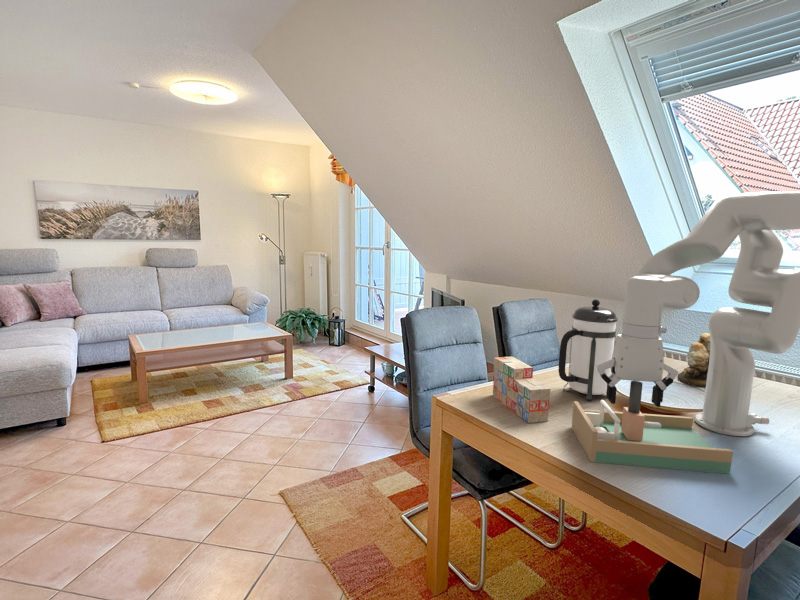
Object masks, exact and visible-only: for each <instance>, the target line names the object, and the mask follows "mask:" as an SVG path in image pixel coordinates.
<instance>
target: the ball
mask: <svg viewBox="0 0 800 600" xmlns="http://www.w3.org/2000/svg"><path fill="white" fill-rule="evenodd" d="M595 429H596V430H597V431H603V432H607V431H606V429H604V428H603V427H595Z"/></svg>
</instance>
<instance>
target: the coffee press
mask: <svg viewBox="0 0 800 600" xmlns="http://www.w3.org/2000/svg"><path fill="white" fill-rule="evenodd" d="M591 305H592V306H581V307H578V308H576V309H575V310H574V312H573V313H572V326H571V330H568V331H566V333H564V335H563V336H562V338H561V341H560V345H559V356H558V375H559V376H558V377H560V379H561V381H564V382H566V384H565V385H563V391H564V392H568V391H569V390H573V391H576V392H578V393H581V394H586V401H587V402H592V400H593V396H599V395H606V392H607V383H606V382H605V381H604V380H603V379H602V378H601V376H600V374H599V372H598V370H597V368H596V366H597V365H599V364H602V363H604V362H607V361H609V360H612V354H613V349H614V345H615V341H616V338H617V329H616V328H617V327H616V326H617V322H618V320H619V318H618V317H617V315H616V312H615V311H613V310H612V309H609V308H606V307H600V305H601V301H599V299H593V300H592V301H591ZM569 341H570V343H571V344H570V348H569V349H570V351H569V352H570V353H569V356H570V357H569V366H568V369H569V371H568V374H567V373H566V365H567V364H566V363H567V362H566V361H567V351H568V350H567V349H568V343H569ZM605 373H606V375H607V376H608V377H609V376H610V375H611V374H612V372H611V370H610V368H608V369H606V370H605ZM567 385H569V388H567V389H566V387H567Z"/></svg>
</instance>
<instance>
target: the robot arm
mask: <svg viewBox="0 0 800 600" xmlns="http://www.w3.org/2000/svg"><path fill="white" fill-rule="evenodd" d="M788 230H800V191H759V192H743V193H731V194H726V195H723V196H720V197H719V198H717V199H716V200H715V201H714V202H713V203H712V204H711V206H709V208H708V209H707V211H706V212H705V213H704V214H703V216H702V217H701V218H700V219H699V221H698V222H697V223H696V225H694V227H693V228H692V229H691V231H690V232H689V233H688V234H687V235H686V236H685V237H684V238H682V239H680V240H677V241H676V242H674V243H672V244H670V245H668V246H666V247H665V248H663V249H662V250H659V251H658V252H656V253H655V254H653V255H652V256H651V257H650V258H649V259H648V260H647V261H645V263H644V264H643V265H642V266H641V268H640V269H639V270H638V271H637V273H636V274H635V276H631V277H629V278H628V279H627V281H626V284H625V294H624V295H625V296H624V306H623V318H622V326H621V327H622V328H621V333H619V334H616V338H615V345H614V349H613V354H612V360H609V361H607V362H604V363H602V364H599V365H597V366H596V368H597V370H598V372H599V374H600V376H601V378H602V379H603V380H604V381H605V382H606V383H607V392H606V393H605V395H606V399H607V400H608V401H609V402H610V403H611V404H613V405H615V404H616V400H617V390H618V389H617V387H616V385H617V384H619V382H620V381H639V382H650V383H651V382H652V383H654V384H655V385H653V387H652V395H651V403H652V404H653V405H654V406H655V407H658V408H660V407H661V403H663V401H664V400H663V399H664V393H665V392H664V391H666V390H667V388H668V387H669V386H670V385H672V384H673V383H674V380H676V378H677V377H678V374H679V373H680V371H678V370H677V369H675V368H673V367H671V366H669V365H667V364H666V363H664V362H665V361H664V359H665V358H664V345H663V339H662V338H661V334H666V333H667V331H668V330H667V327H666V326H662V316H663V315H662V313H663V309H670V310H671V309H672V310H676V311H677V310H681V311H682V310H686V309H690V308H691V307H692V306H694V305H695V304H696V303H697V302H698V301H699V298H700V293H701V291H700V287H699V285H698V283H696V281H695V280H694V279H691V278H690V277H689V278H688V277H686V276H681V275H672V274H674V273H676V272H678V271H679V272H680V271H681V270H684V269H688V268H691V267H695V266H700V265H704V264H707V263H710V262H714V261H716V260H718V259H721V257H722V256H724V254H725V253H726V252H727V250H728V248H729V247H730V246H731V245H732V244H733V242H734V241H735V239H736V238H737V237H739V241H740V248H739V249H740V250H739V251H740V252H739V254H738V257H737V259H736V262H735V263H736V264H735V266H734V269H733V272H732V275H731V278H730V282H729V286H728V296H729V297H730V299H731V300H733V301H734V302H737V303H741V304H745V305H751V306H758V307H759V306H760V307H767V308H771V311H770V312H768V311H762V310H757V309H751V308H745V307H744V308H743V307H738V306H737V307H736V306H728V307H727V306H725V307H720V308H719V309H716V310H715V311H714V312H713V313H712V314H711V315H710V317H709V321H708V333H709V334H710V359H709V367H708V375H707V383H706V387H705V392H704V401H703V407H702V409H703V410H702V412H700V413H698V414H697V413H696V414H695V417H694V420H695V423H696V424H697V425H699V426H701V427H702V428H704V429H707V430H709V431H712V432H714V433H718V434H722V435H727V436H734V437H749V436H752V435H754V434H755V433H754V432H755V428H754V426H753V425H756V424H759V425H769V424H770V418H769V417H768V416H759V415H757V413H751V412H750V405H751V398H752V391H753V383H754V375H755V372H756V371H755V369H756V363H755V359H754V356H753V354H752V352H751V350H755V351H759V352H760V351H761V352H764V353H768V354H777V355H778V354H784V353H786V352H788V351H789V350H790V349H791V348H793V345H794V343H795V341H796V339H797V337H798V335H799V331H800V270H797V269H787V268H780V264H781V261H782V257H783V256H784V248H783V244H782V243H781V241H780V239H779V238H778V236H777V235H776V234H775V233H774V231H788ZM608 368H610V370H611V372H612V374H611V375H610V376H609V377H608V376H607V375H606V373H605V370H606V369H608ZM664 371H665V372H667V374H666V375H667V376H665V377H664V378H663V375H664Z"/></svg>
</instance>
